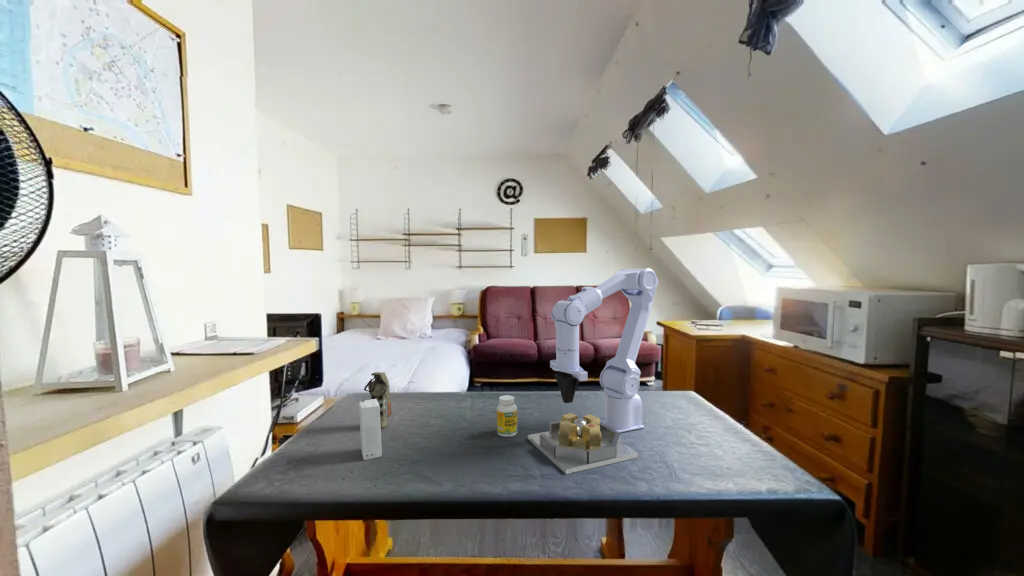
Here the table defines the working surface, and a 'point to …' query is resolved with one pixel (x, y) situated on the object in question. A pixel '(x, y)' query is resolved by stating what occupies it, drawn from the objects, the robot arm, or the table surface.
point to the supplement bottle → (506, 416)
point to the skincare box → (370, 429)
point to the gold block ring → (589, 432)
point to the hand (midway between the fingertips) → (567, 401)
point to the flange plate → (579, 465)
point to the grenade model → (380, 395)
